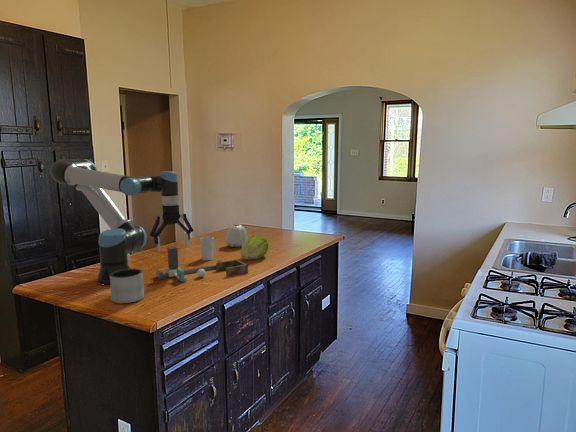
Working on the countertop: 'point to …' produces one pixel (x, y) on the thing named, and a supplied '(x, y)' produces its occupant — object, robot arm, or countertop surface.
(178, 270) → the carriage
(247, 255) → the lettuce
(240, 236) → the vase
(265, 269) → the countertop surface
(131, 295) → the planter
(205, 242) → the mug
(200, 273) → the ball
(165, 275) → the rail
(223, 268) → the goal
